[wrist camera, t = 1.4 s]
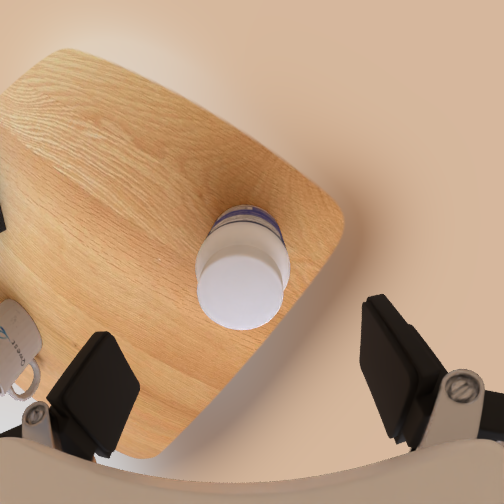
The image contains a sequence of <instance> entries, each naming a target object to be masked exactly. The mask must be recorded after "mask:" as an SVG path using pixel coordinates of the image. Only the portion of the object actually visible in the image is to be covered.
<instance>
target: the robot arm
mask: <svg viewBox="0 0 504 504" xmlns="http://www.w3.org/2000/svg"><path fill="white" fill-rule="evenodd" d="M360 366H361V370H362V372H363V374H364V377H365V379H366V381H367V384H368V386H369V389H370V391H371V394H372V396H373V399H374V401H375V404H376V406H377V409H378V411H379V414H380V416H381V419H382V422H383V424H384V427H385V429H386V432H387V435H388V436H389V438H394V439H395V442H396V444H399V443H402V442H405V441H406V442H407V445H408V447H411V448H410V451H409V453H407V454H404V455H400V456H397V457H394V458H390V459H387V460H384V461H380V462H376V463H373V464H369V465H366V466H362V467H358V468H354V469H350V470H345V471H341V472H336V473H331V474H326V475H320V476H313V477H307V478H300V479H293V480H283V481H272V482H256V483H211V482H196V481H184V480H175V479H167V478H161V477H153V476H148V475H143V474H138V473H133V472H128V471H124V470H120V469H116V468H112V467H108V466H104V465H101V464H97V463H96V460H95V457H94V453H96V454H97V455H98V456H101V457H105V458H110V455H111V453H112V452H113V451H114V450H115V449H116V446H117V443H118V441H119V438H120V436H121V434H122V431H123V429H124V426H125V424H126V421H127V419H128V417H129V414H130V412H131V409H132V407H133V405H134V402H135V400H136V398H137V396H138V393H139V391H140V384H139V382H138V380H137V378H136V377H135V375H134V373H133V371H132V370H131V368H130V366H129V364H128V363H127V361H126V359H125V357H124V355H123V353H122V351H121V349H120V347H119V345H118V344H117V342H116V340H115V338H114V336H113V335H111V334H110V333H109V332H107V331H104V332H95V333H94V334H93V335H92V336H91V338H90V339H89V340H88V341H87V343H86V344H85V345H84V346H83V348H82V349H81V350H80V352H79V353H78V354H77V356H76V357H75V358H74V360H73V361H72V362H71V364H70V365H69V366H68V368H67V369H66V370H65V372H64V373H63V374H62V376H61V377H60V379H59V380H58V381H57V383H56V384H55V386H54V387H53V388H52V390H51V391H50V393H49V394H48V396H47V397H46V399H47V400H48V401H49V403H50V404H51V407H50V408H49V406H48V405H47V404H46V403H45V402H43V401H38V402H34V403H33V404H31V405H30V406H28V407H27V408H26V410H25V411H24V413H23V416H22V424H21V425H19V426H17V427H15V428H12V429H10V430H8V431H6V432H3V433H1V434H0V504H504V394H503V393H497V392H492V391H487V390H485V389H484V383H483V380H482V379H481V377H479V375H478V374H476V373H475V372H473V371H471V370H467V369H458V370H453V371H451V372H449V373H448V372H447V371H446V369H445V368H444V366H443V365H442V364H441V362H440V361H439V359H438V358H437V357H436V355H435V354H434V353H433V351H432V350H431V349H430V347H429V346H428V345H427V343H426V342H425V341H424V339H423V338H422V337H421V336H420V334H419V333H418V332H417V330H416V329H415V328H414V327H413V326H412V325H410V324H407V322H406V321H405V320H404V319H403V317H402V316H401V315H400V314H399V312H398V311H397V310H396V309H395V307H394V306H393V305H392V303H391V302H390V301H389V300H388V299H387V297H386V296H385V295H384V294H380V295H375V296H371V297H368V298H367V301H366V302H363V304H362V326H361V346H360Z"/></svg>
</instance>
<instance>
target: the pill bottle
mask: <svg viewBox="0 0 504 504" xmlns="http://www.w3.org/2000/svg"><path fill="white" fill-rule="evenodd" d="M195 273H196V278H197V281H198V284H197V297H198V301H199V303H200V306H201V308H202V309H203V311H204V312H205V314H206V315H207V316H208V317H209V318H210V319H211V320H213V321H214V322H216V323H217V324H219V325H221V326H223V327H226V328H229V329H235V330H248V329H253V328H257V327H259V326H262V325H264V324H265V323H267V322H268V321H270V320H271V319H272V318H273V317H274V316H275V315H276V314H277V312H278V311H279V309H280V307H281V304H282V301H283V291H284V289H285V288H286V286H287V283H288V280H289V276H290V261H289V256H288V252H287V249H286V247H285V243H284V240H283V238H282V234H281V231H280V229H279V226H278V224H277V222H276V221H275V219H274V218H273V217H272V216H271V215H270V214H269V213H268V212H267V211H265V210H263V209H262V208H259V207H257V206H253V205H239V206H235V207H232V208H230V209H228V210H226V211H225V212H223V213H222V214H221V215H220V216H219V217H218V219H217V220H216V221H215V223H214V225H213V227H212V229H211V231H210V232H209V234H208V235H207V237H206V239H205V241H204V242H203V244H202V245H201V247H200V249H199V251H198V254H197V258H196V263H195Z"/></svg>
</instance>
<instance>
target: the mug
mask: <svg viewBox="0 0 504 504" xmlns="http://www.w3.org/2000/svg"><path fill="white" fill-rule="evenodd" d="M41 348H42V340H41V336H40V333H39V331H38V329H37V326H36V325H35V323H34V321H33V320H32V318H31V317H30V315H29V314H28V313H27V312H26V310H25V309H24V308H23V307H22V306H21V305H20V304H18V303H17V302H16V301H14V300H12V299H5V300H4V301H3V302H2V303H0V396H4V395H5V394H6V392H8V393H9V395H10V396H12V397H13V398H14V399H15V400H20V401H25V400H27V399H29V398H31V396H32V395H33V394H34V393H35V391H36V390H37V388H38V386H39V383H40V369H39V366H38V364H37V362H36V361H35V359H34V357H35V356H36V355H37V353H38V352H39V351H40V350H41ZM28 364H30V365H31V367H32V368H33V371H34V379H33V382H32V384H31V386H30V387H29V389H28V390H27V391H26V392H25V393H23V394H21V395H18V394H16V393H15V392H14V390H13V388H12V384H13V383H14V382H15V380H16V379H17V378H18V377H19V375H20V374H21V373H22V372H23V370H24V369H25V368H26V367H27V365H28Z"/></svg>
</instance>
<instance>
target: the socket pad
mask: <svg viewBox="0 0 504 504" xmlns="http://www.w3.org/2000/svg"><path fill="white" fill-rule="evenodd" d="M4 230H6V227H5V223H4V219H3V215H2V211H1V207H0V233H1V232H2V231H4Z"/></svg>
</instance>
